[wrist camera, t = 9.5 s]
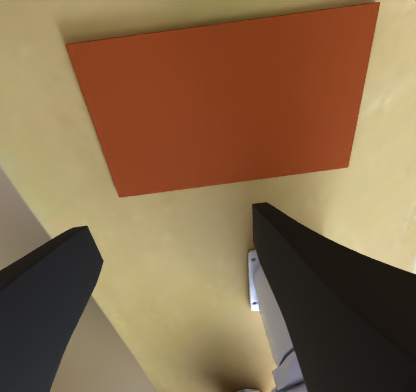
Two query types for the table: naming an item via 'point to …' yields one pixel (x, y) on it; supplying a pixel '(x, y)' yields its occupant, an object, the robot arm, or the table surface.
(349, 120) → the cloth
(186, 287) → the table surface
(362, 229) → the table surface
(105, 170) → the table surface
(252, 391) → the ceramic cup
